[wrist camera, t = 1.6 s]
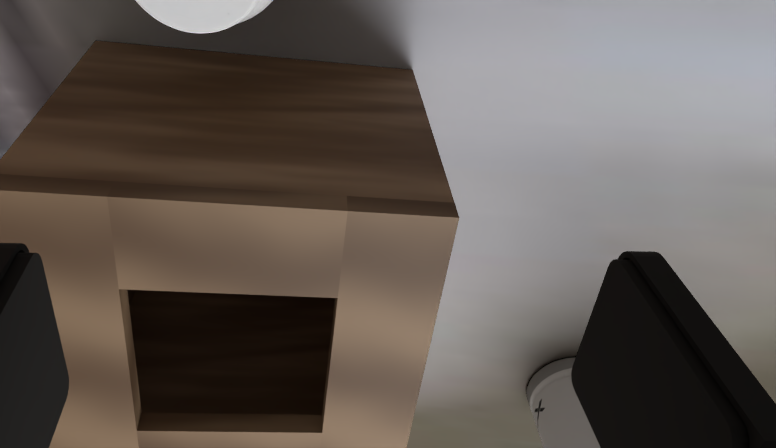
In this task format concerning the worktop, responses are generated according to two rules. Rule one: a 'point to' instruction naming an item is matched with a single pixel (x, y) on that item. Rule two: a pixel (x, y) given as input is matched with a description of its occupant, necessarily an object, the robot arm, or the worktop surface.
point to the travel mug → (559, 408)
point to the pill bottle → (202, 13)
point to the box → (234, 247)
